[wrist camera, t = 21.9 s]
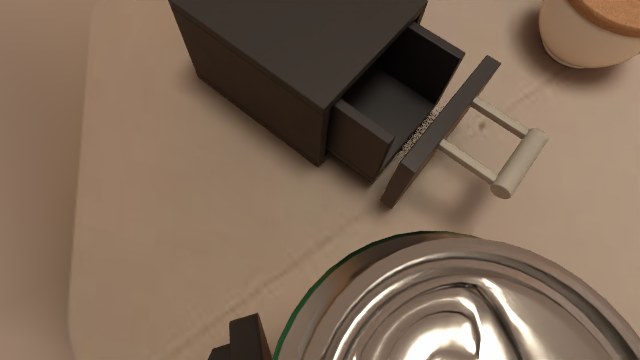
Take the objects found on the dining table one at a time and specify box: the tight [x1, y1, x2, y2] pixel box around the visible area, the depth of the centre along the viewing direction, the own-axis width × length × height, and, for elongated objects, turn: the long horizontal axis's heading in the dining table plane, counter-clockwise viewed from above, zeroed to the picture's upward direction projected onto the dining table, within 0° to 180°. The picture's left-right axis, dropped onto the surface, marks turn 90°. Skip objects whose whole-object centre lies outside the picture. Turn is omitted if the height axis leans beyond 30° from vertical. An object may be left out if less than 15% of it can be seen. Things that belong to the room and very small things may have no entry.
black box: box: [168, 0, 428, 167], centre depth 33 cm, size 15×13×9 cm
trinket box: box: [539, 0, 640, 69], centre depth 36 cm, size 11×11×9 cm
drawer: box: [325, 21, 548, 209], centre depth 31 cm, size 19×11×7 cm, turn 51°
